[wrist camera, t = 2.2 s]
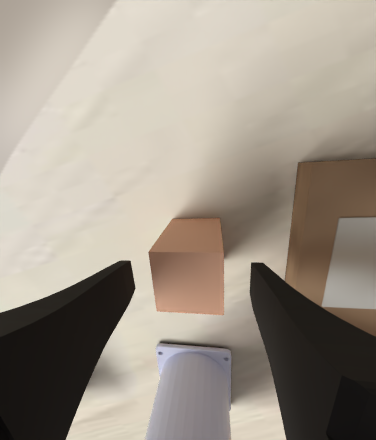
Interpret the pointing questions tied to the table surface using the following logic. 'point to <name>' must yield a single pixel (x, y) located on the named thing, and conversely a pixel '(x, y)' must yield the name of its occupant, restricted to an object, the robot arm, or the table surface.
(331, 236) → the base board
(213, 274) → the terracotta block
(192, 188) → the table surface
